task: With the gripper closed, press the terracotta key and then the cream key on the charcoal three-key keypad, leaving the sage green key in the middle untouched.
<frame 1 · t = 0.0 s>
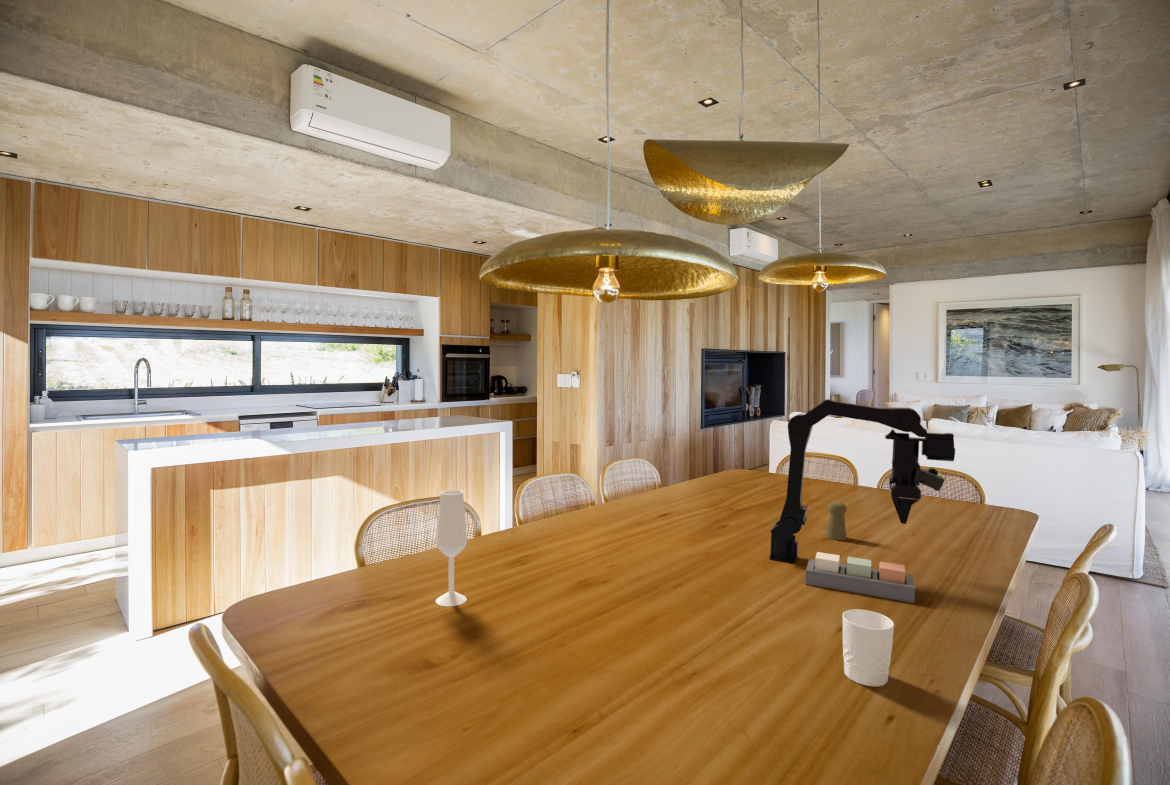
hand: (902, 519, 145), 15 cm above the table, tool pointing down, fingers open, 9 cm apart
sage key: (858, 569, 138), point 4 cm above the table, slide at 0.0 cm
champagne flute: (451, 600, 127), on the table
cream key: (827, 564, 141), point 4 cm above the table, slide at 0.0 cm
white cup: (865, 677, 98), on the table
terracotta key: (891, 574, 135), point 4 cm above the table, slide at 0.0 cm
keypad: (858, 586, 139), on the table
olive pepper mill: (836, 538, 178), on the table
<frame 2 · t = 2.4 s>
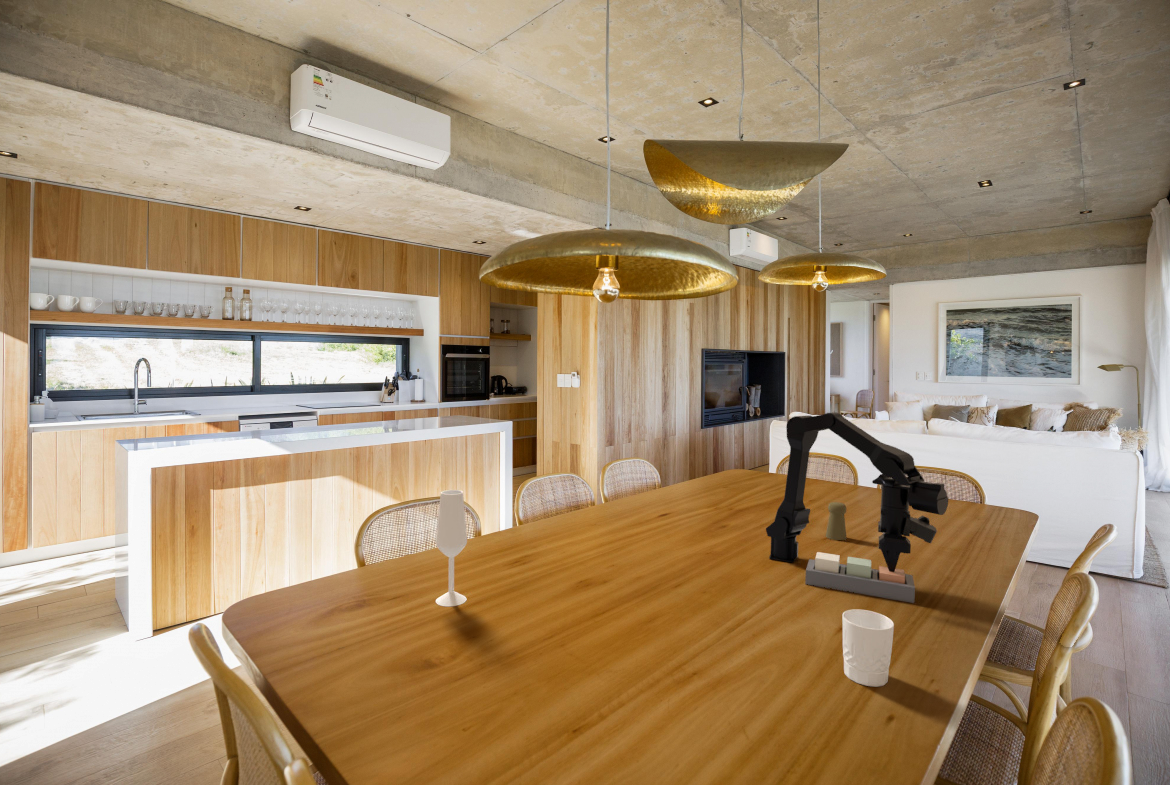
hand: (891, 571, 135), 5 cm above the table, tool pointing down, fingers closed, pressing on terracotta key
terracotta key: (891, 579, 135), point 3 cm above the table, slide at 1.2 cm, touching gripper
everything else where it was.
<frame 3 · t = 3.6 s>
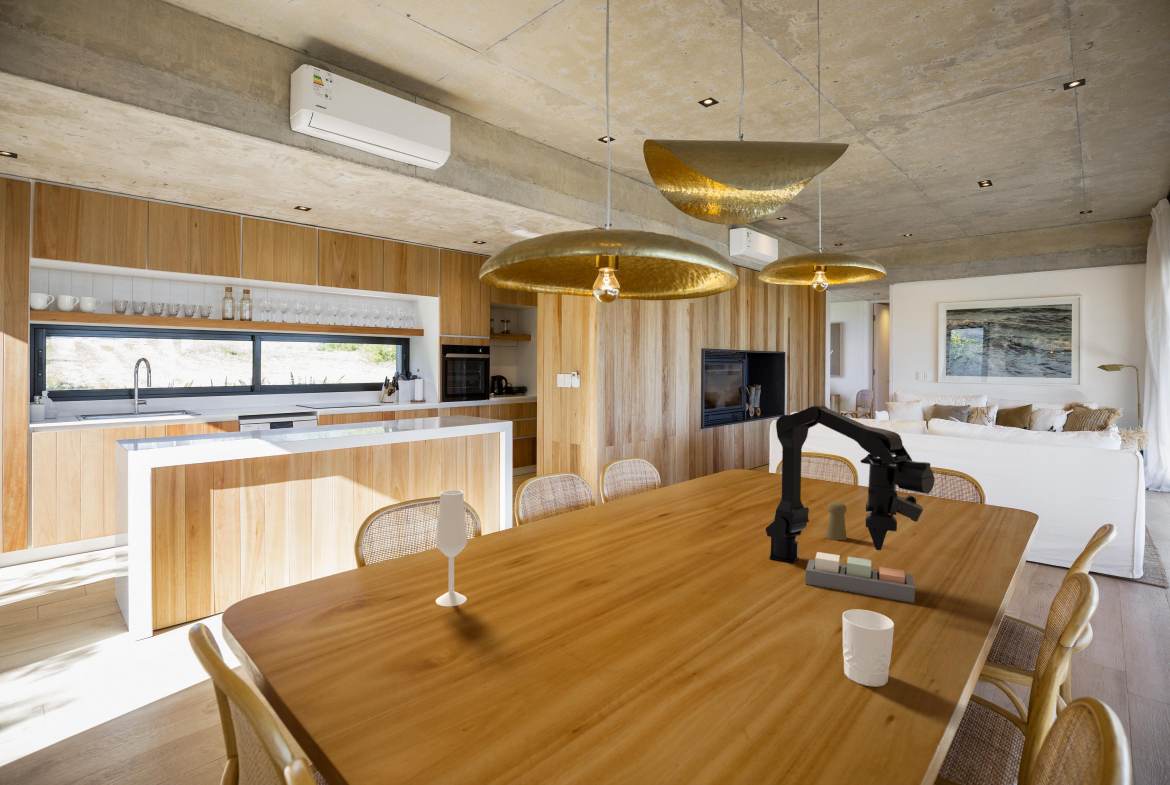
hand: (878, 549, 136), 10 cm above the table, tool pointing down, fingers closed
terracotta key: (891, 580, 135), point 3 cm above the table, slide at 1.3 cm
everything else where it was.
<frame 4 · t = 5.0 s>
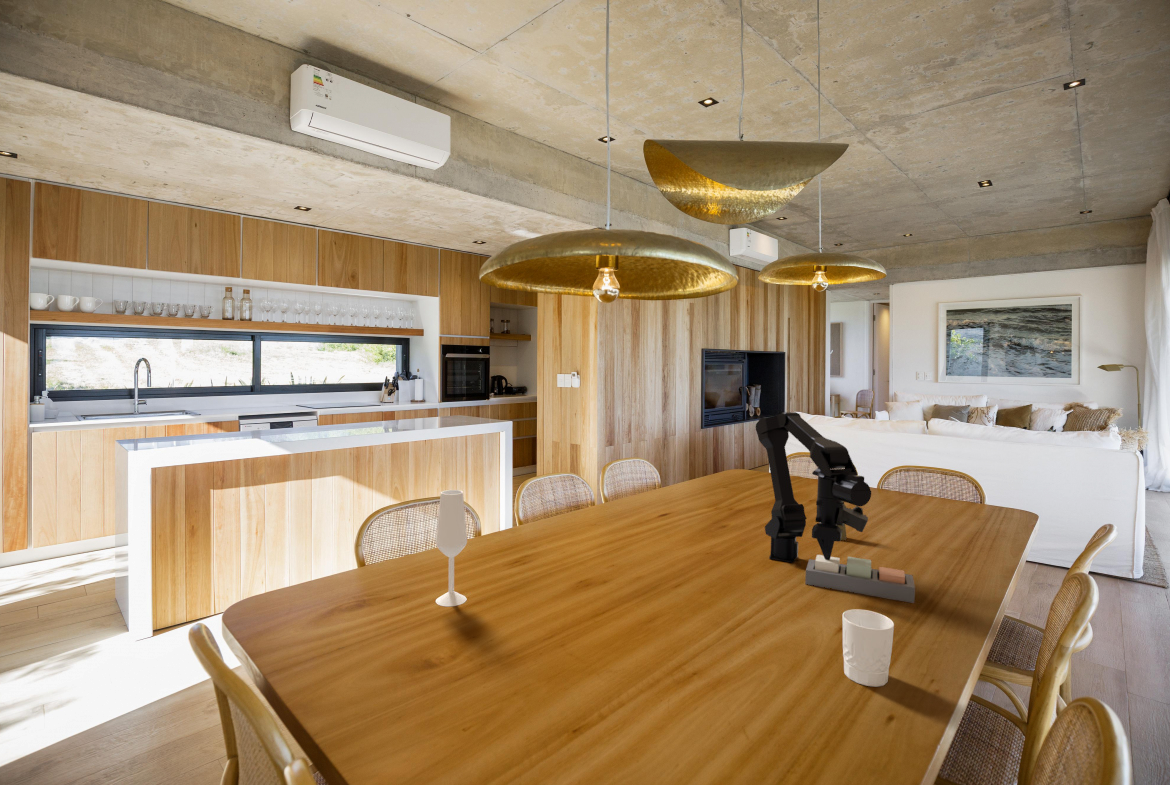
hand: (827, 559, 141), 6 cm above the table, tool pointing down, fingers closed, pressing on cream key
cream key: (827, 567, 142), point 4 cm above the table, slide at 0.7 cm, touching gripper
everything else where it was.
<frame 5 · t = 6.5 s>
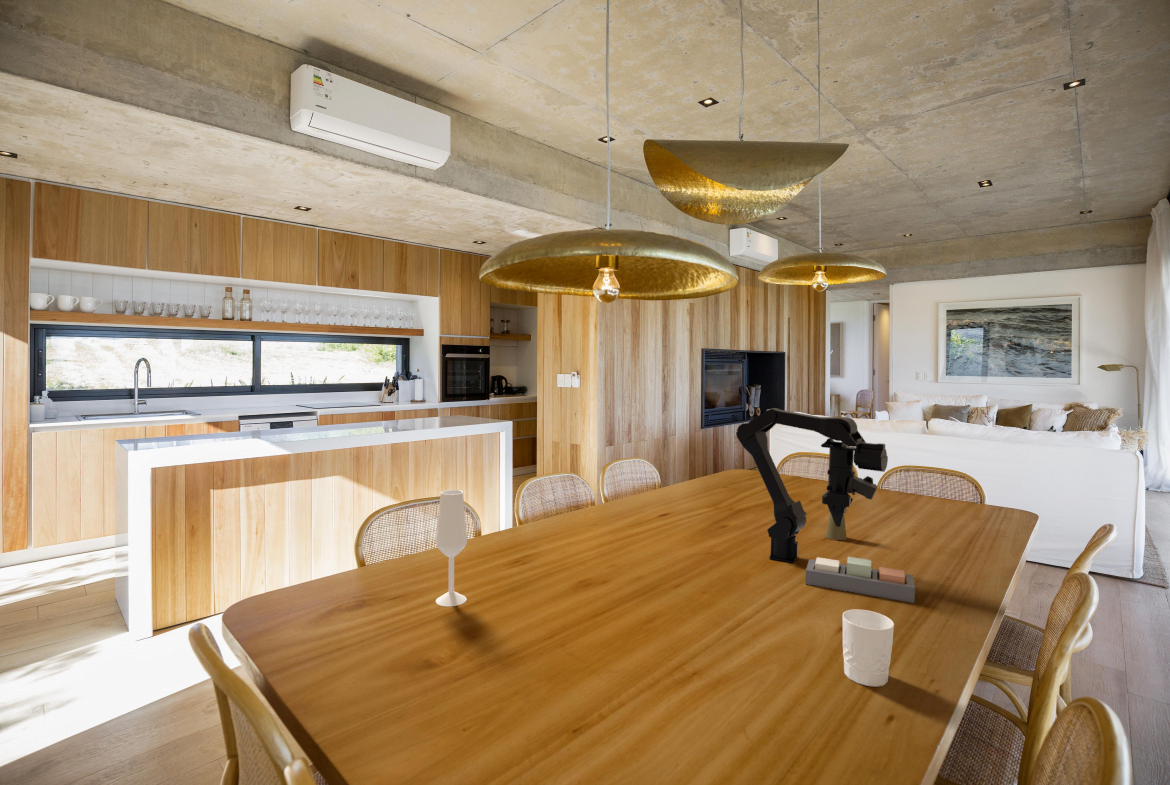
hand: (838, 526, 149), 12 cm above the table, tool pointing down, fingers closed
cream key: (827, 570, 142), point 3 cm above the table, slide at 1.3 cm
everything else where it was.
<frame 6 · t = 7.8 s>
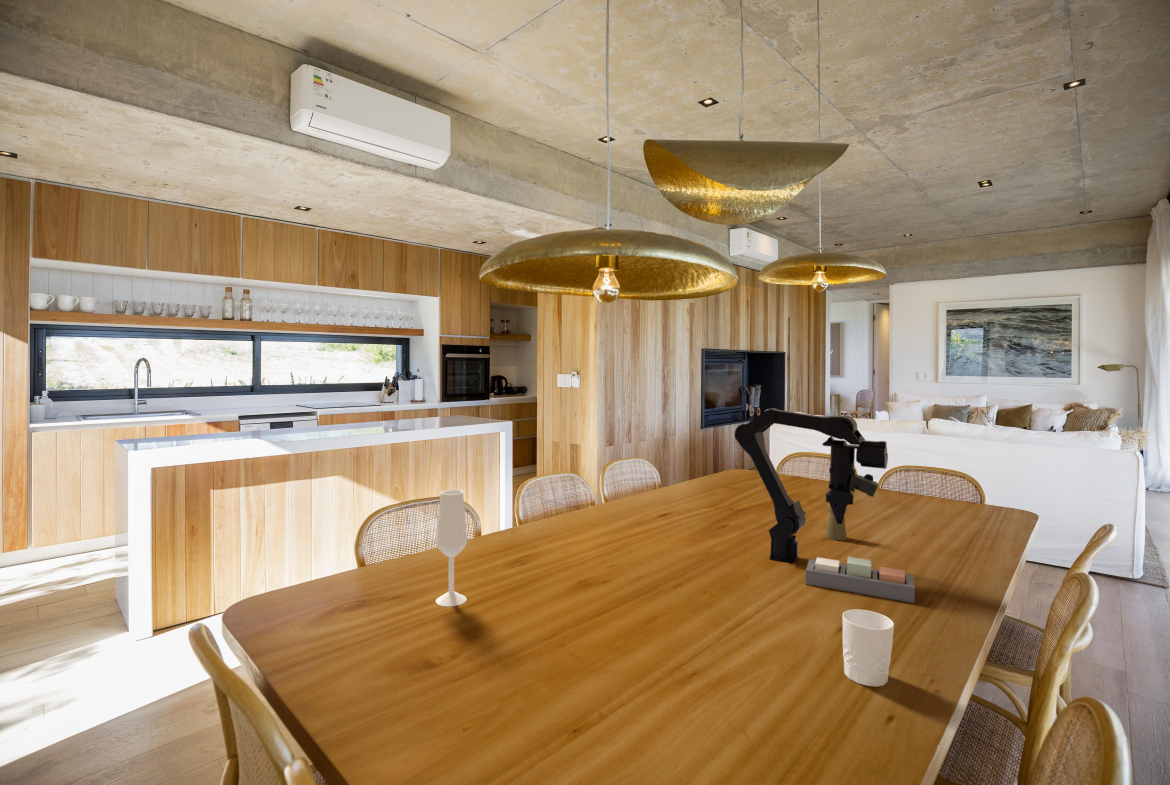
hand: (839, 523, 150), 12 cm above the table, tool pointing down, fingers closed
nothing on the table moved.
at the end: terracotta key slide at 1.3 cm; cream key slide at 1.3 cm; sage key slide at 0.0 cm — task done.
